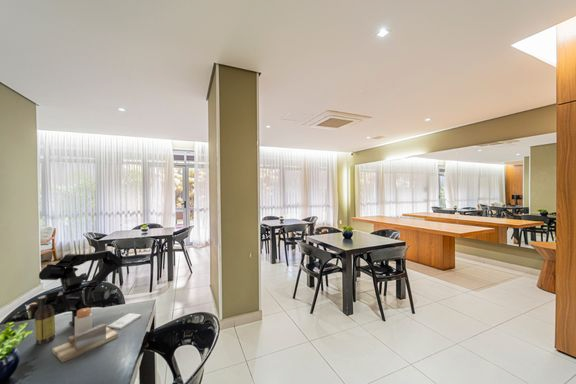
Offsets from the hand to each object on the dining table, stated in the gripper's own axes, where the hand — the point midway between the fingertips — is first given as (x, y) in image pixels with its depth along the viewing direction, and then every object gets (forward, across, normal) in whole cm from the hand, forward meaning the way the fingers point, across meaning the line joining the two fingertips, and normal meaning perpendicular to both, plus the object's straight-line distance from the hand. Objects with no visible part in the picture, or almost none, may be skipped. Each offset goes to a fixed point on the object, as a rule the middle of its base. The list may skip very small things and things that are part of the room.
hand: (77, 307), depth 108 cm
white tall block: (+13, 0, +4) cm, 14 cm away
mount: (+17, 0, +2) cm, 17 cm away
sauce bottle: (+3, -8, +16) cm, 19 cm away
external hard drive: (+13, +18, +7) cm, 23 cm away
